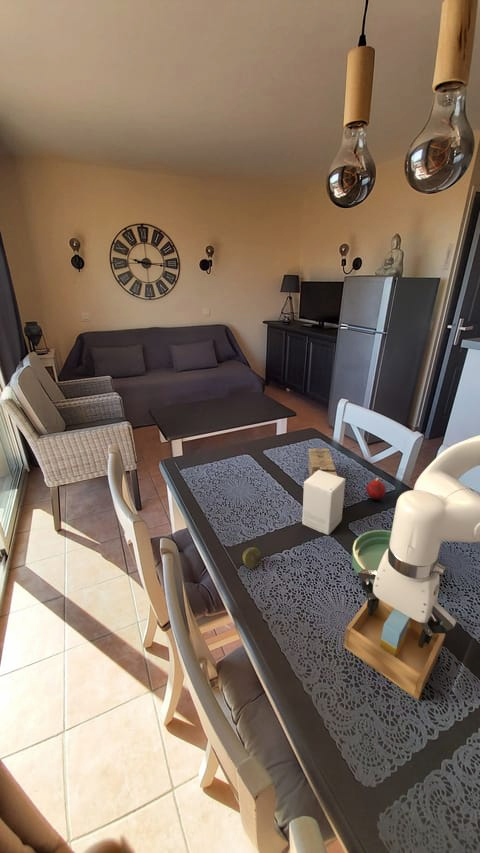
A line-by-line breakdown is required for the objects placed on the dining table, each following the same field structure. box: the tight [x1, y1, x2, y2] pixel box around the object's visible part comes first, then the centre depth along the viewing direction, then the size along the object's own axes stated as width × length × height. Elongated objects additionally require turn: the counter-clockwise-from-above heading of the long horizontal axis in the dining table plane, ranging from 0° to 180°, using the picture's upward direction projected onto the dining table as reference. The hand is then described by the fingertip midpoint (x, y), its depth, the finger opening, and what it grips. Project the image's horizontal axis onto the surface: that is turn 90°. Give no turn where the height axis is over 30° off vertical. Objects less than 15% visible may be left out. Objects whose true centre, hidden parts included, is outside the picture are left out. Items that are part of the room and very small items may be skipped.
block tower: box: [307, 448, 338, 477], centre depth 123 cm, size 8×8×29 cm
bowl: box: [351, 529, 392, 585], centre depth 91 cm, size 19×19×4 cm
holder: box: [343, 598, 446, 701], centre depth 71 cm, size 15×12×6 cm
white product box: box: [301, 470, 347, 536], centre depth 105 cm, size 9×9×15 cm
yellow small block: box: [380, 631, 407, 657], centre depth 71 cm, size 3×5×4 cm, turn 136°
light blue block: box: [381, 608, 410, 649], centre depth 70 cm, size 3×5×4 cm, turn 136°
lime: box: [242, 547, 262, 570], centre depth 93 cm, size 4×5×5 cm
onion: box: [365, 477, 386, 501], centre depth 117 cm, size 6×6×8 cm
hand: (396, 625), depth 69 cm, fingers open, 9 cm apart
